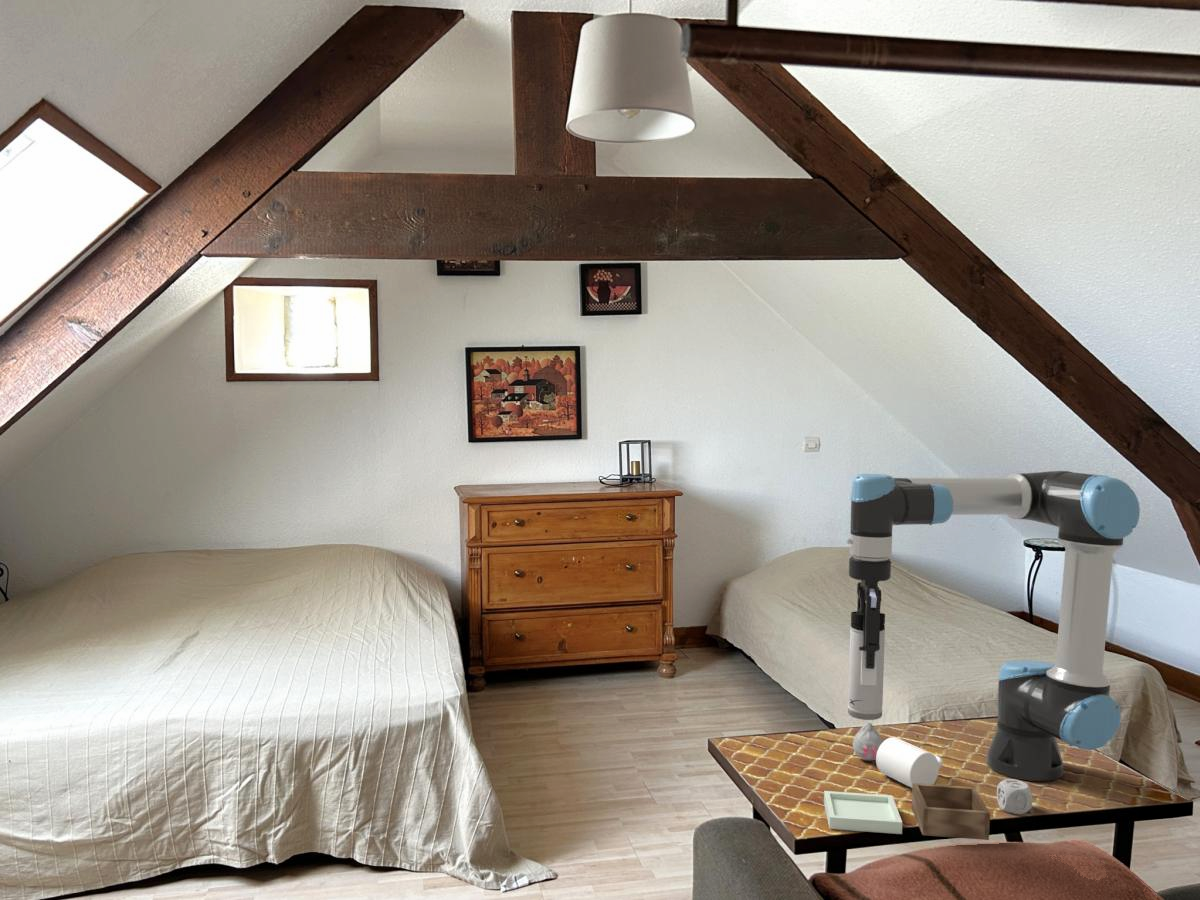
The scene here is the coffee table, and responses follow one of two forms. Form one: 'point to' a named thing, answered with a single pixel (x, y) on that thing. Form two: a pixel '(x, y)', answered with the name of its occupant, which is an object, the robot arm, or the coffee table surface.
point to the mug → (907, 762)
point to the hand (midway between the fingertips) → (866, 678)
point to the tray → (862, 812)
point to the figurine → (867, 742)
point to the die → (1014, 796)
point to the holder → (950, 811)
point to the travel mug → (860, 697)
